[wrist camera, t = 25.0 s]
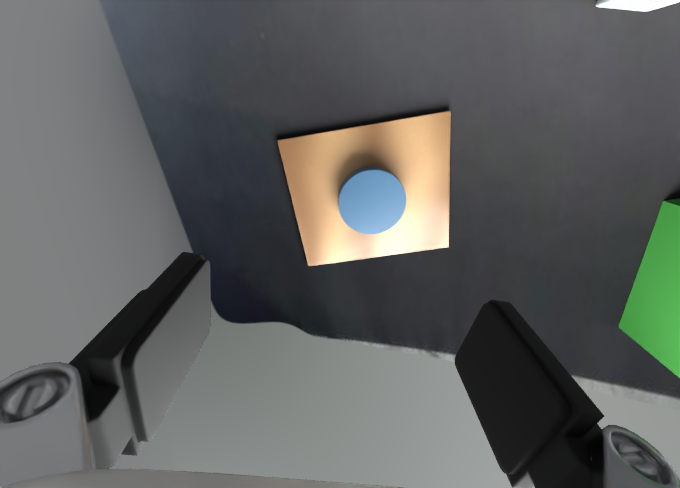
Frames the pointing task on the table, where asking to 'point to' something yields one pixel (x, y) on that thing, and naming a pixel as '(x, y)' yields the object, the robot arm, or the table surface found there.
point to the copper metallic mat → (360, 151)
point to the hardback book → (658, 292)
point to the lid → (371, 200)
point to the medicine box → (635, 4)
